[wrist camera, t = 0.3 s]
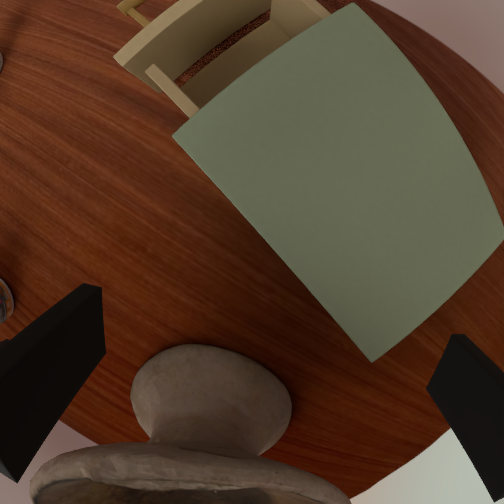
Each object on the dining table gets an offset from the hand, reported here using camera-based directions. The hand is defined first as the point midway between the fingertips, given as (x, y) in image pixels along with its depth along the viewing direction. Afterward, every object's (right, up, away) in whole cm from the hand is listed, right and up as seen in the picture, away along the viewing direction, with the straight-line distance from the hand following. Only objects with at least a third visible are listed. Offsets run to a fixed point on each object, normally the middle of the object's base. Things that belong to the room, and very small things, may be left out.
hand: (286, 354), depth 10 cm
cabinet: (+6, +10, +15) cm, 19 cm away
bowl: (-6, -14, +22) cm, 27 cm away
